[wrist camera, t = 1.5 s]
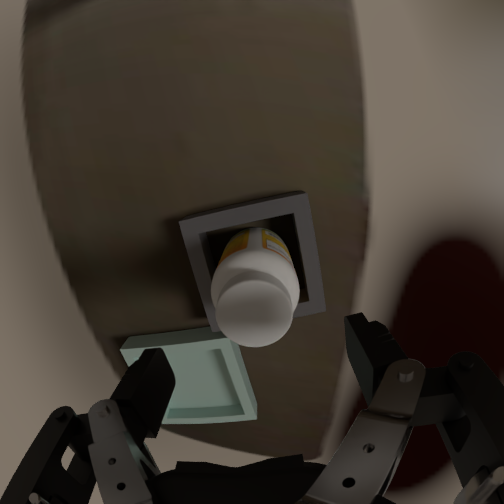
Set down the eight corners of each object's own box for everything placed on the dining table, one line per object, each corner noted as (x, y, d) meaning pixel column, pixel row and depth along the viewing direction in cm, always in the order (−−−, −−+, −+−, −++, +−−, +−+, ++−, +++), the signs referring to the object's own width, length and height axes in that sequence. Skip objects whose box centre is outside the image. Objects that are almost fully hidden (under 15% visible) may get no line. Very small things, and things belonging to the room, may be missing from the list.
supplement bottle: (224, 288, 24) (205, 356, 15) (222, 226, 23) (197, 266, 13) (287, 288, 24) (302, 358, 15) (290, 226, 23) (310, 266, 13)
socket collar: (187, 216, 23) (176, 222, 20) (301, 190, 22) (308, 193, 19) (216, 317, 25) (211, 335, 22) (320, 297, 24) (327, 313, 21)
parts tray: (128, 336, 26) (119, 349, 24) (231, 322, 25) (228, 337, 23) (167, 409, 29) (162, 423, 27) (257, 403, 28) (256, 419, 26)
